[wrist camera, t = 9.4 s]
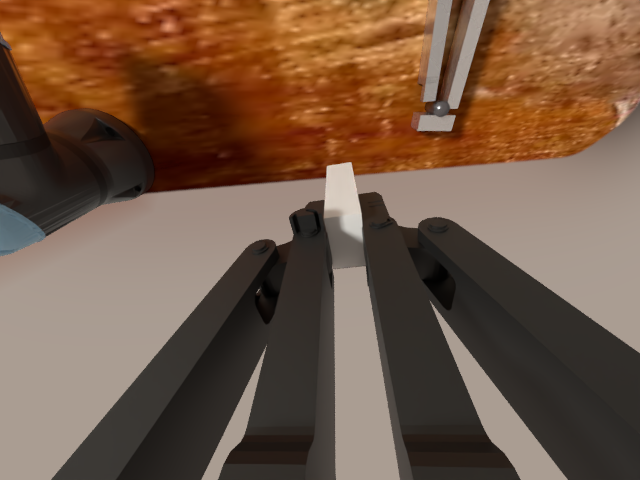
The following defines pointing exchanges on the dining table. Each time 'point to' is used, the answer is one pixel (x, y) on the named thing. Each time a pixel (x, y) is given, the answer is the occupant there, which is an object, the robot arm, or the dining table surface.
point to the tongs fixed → (454, 69)
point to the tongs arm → (433, 47)
